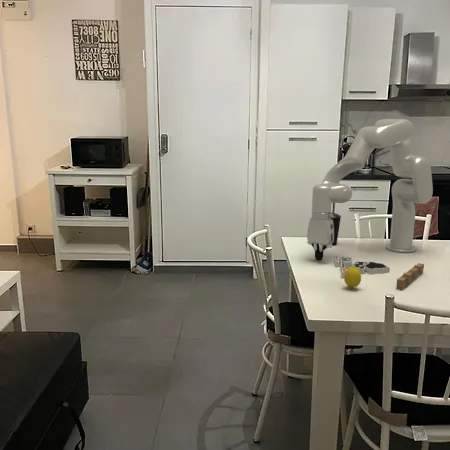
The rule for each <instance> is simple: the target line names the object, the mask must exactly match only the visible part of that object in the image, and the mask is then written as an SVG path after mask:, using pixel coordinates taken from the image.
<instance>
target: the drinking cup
mask: <svg viewBox="0 0 450 450" xmlns="http://www.w3.org/2000/svg"><path fill="white" fill-rule="evenodd" d="M331 214H333V215H334V217H333V218H331V219H332V220H333V226H334V242H333V243H332V246H337V244H338V238H339V231H340V224H341V219H342V215H340V214H339V213H337V212H335V203H332V209H331Z"/></svg>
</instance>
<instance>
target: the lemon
mask: <svg viewBox="0 0 450 450" xmlns="http://www.w3.org/2000/svg"><path fill="white" fill-rule="evenodd" d="M343 280H344V283H345V285H346V286H347V287H349V288H350V289H352V290H353V289H354V288H356V287H358V286H359V285H360V284H361V282H362V274H361V273H360V271H359V270H358V269H357V268H356V267H354V266H352V267H350V268H348V269H347V270H346V272H345V275H344V279H343Z"/></svg>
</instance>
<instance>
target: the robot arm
mask: <svg viewBox="0 0 450 450" xmlns="http://www.w3.org/2000/svg"><path fill="white" fill-rule="evenodd" d="M413 132H414V125H413V123H412V121H410V120H409V119H406V118H384V119H379V120H377V121H376V122H374V125H371V126H364V127H361V128H360V129H359V131H358V132H357V134H356V136H355V138H354V139H353V141H352V143H351V145H350V147H349V148H348V150H347V152H346V154H345V156H344V157H343V158H342V159H341V160H339V161H338V162H337V163H335V165H333V166H332V167H331V168H330V169H329V170H328V171H327V173H326V175H325V176H324V178H323V180H322V182H321V184H315V185H314V186H313V188H312V196H311V197H312V199H311V217H310V218H309V222H308V225H307V231H306V232H307V235H306V240H307V241H306V243H307V245H310V246H312V247H313V251H314V258H315V261H318V262H319V261H322V260H323V259H324V252H325V250H327V249H331V248H333V246H332V243H333V242H334V226H333V220H332V219H331V218H333V217H334V215H333V214H331V213H332V204H333V203H334V204H335V203H336V204H345V203H347V202H349V201H350V200H351V199H352V196H353V190H352V189H351V187H350V186H349V185H346V184H344V183H340V182H341V180H343V179H344V177H346V176H348V175H349V174H351V173H354V172H356V171H359V170H361V169H363V168H364V167H365V165H366V163H367V162H368V160H369V157H370V156H371V154H372V153H373V150H374V149H386V148H389V152H390V159H391V168H392V171H393V174H394V175H395V176H397V177H398V178H400V179H397V180H395V182H394V183H393V184H392V186H391V197H392V212H391V224H390V235H389V236H390V237H389V243H387V244H386V245H385V248H386V249H387V250H389V251H391V252H396V253H413V252H416V250H417V249H416V246H415V245H413V243H414V231H415V223H416V222H415V220H416V206H415V204H420V205H421V204H428V203H429V202H430V201H431V200H432V196H433V191H434V189H433V188H434V187H433V178H432V177H433V176H432V168H431V164H430V162H429V160H428V159H427V158H426V157H424V156H421V155H420V156H419V155H414V154H413V151H412V150H413V149H412V143H411V141H410V138H411V136H412V135H413V134H414V133H413Z"/></svg>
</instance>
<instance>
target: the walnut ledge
mask: <svg viewBox="0 0 450 450" xmlns="http://www.w3.org/2000/svg"><path fill="white" fill-rule="evenodd" d="M424 268H425V264H424V263H419V262H418V263H417V264H413V267H411V268H410V269H409V270H408V271H406V272H403V274H402V275H401V276H400V277H398V278H397V279H396V288H395V289H396V290H397V291H398V290H399V291H404V290H405V289H406V288H407V287H408V286H409V285H411V284H412V283H414V281H416V279H418V278H419V277H420V276H421V275H423V274H424V270H425V269H424Z"/></svg>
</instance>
